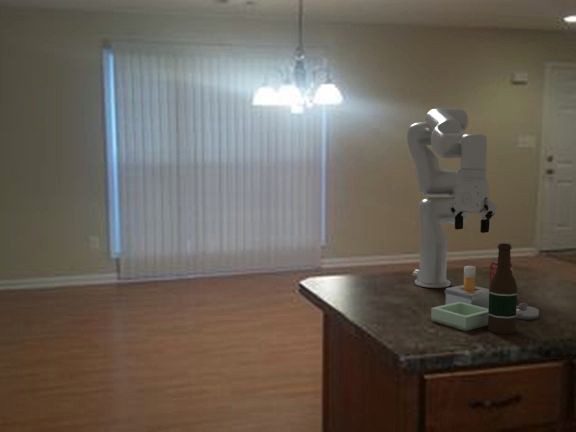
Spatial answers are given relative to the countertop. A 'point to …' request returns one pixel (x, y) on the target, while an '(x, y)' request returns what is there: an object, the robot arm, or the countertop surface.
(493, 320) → the beer bottle
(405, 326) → the countertop surface
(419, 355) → the countertop surface
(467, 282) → the pin
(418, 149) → the robot arm
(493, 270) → the soda can
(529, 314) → the metal pot lid
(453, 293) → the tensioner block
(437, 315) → the tray
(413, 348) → the countertop surface
